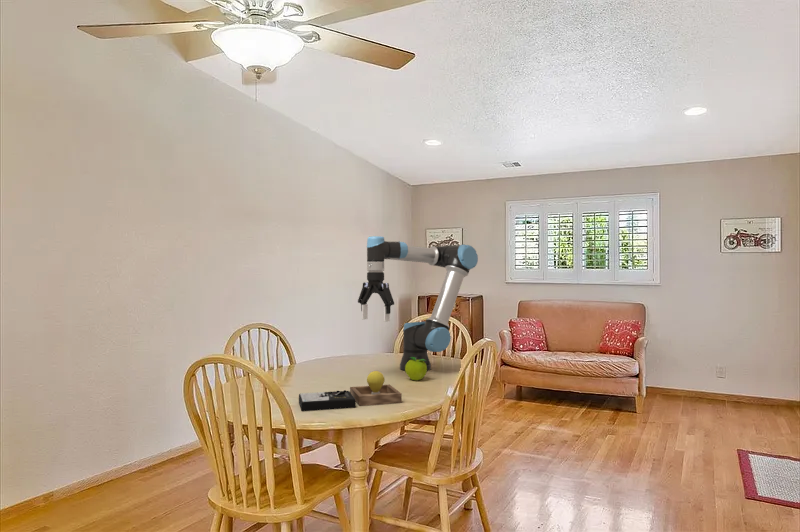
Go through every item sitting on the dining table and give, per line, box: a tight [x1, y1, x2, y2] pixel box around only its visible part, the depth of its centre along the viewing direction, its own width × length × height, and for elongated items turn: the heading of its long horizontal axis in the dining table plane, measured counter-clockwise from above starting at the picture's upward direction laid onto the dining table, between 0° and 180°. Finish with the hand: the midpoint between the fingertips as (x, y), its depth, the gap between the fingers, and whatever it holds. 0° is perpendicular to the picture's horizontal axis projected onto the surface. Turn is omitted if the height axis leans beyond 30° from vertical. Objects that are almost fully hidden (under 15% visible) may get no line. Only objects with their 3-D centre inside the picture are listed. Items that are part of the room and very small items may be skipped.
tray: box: [349, 383, 403, 407], centre depth 205 cm, size 16×16×3 cm
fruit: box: [404, 357, 428, 381], centre depth 239 cm, size 9×9×10 cm
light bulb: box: [366, 370, 385, 395], centre depth 205 cm, size 7×7×10 cm
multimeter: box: [298, 389, 357, 412], centre depth 196 cm, size 13×19×5 cm
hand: (375, 320), depth 236 cm, fingers open, 13 cm apart
